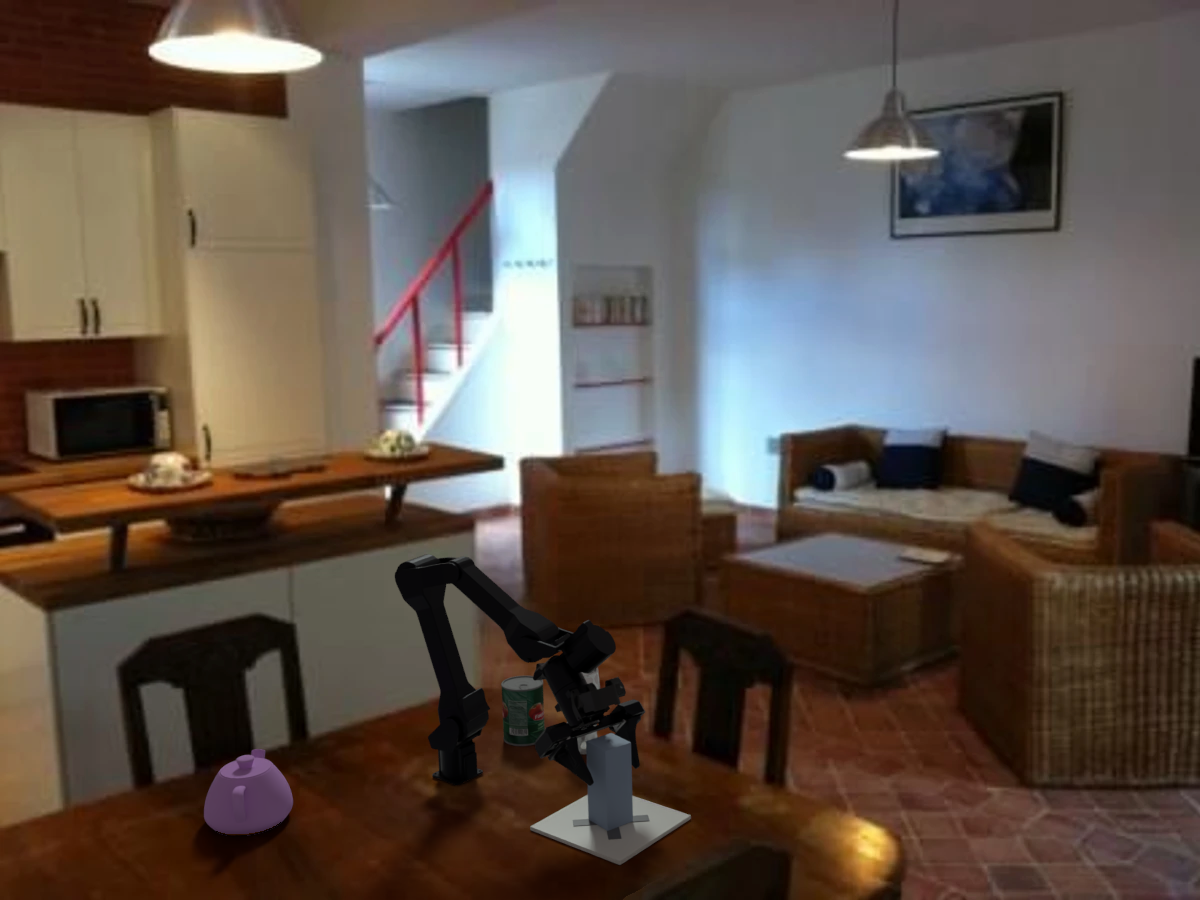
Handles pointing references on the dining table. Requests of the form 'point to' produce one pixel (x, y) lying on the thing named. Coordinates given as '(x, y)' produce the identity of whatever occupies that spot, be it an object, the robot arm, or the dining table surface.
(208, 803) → the teapot
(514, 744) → the canned tomato
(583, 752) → the beer glass
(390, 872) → the dining table surface
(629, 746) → the blue block
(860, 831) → the dining table surface
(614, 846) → the pad
